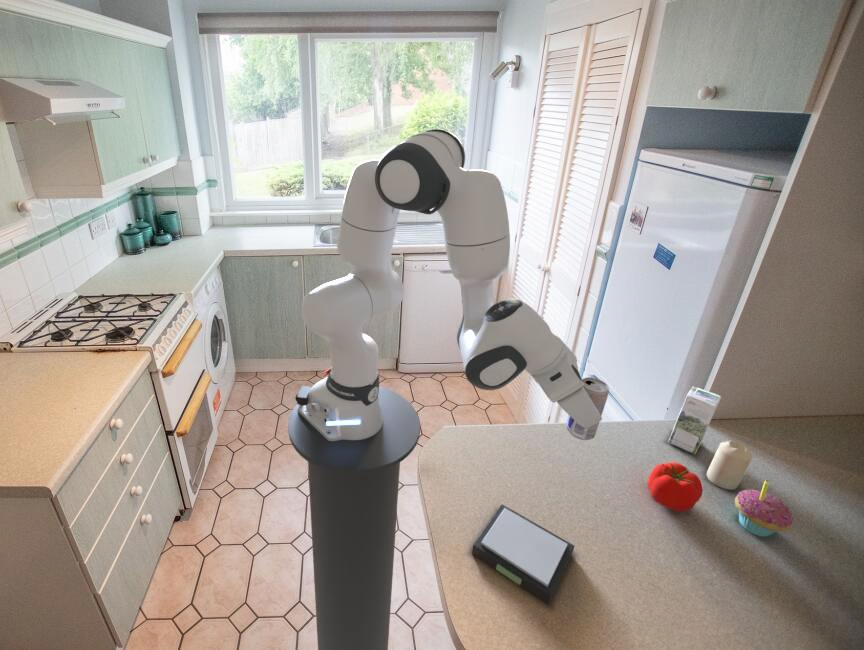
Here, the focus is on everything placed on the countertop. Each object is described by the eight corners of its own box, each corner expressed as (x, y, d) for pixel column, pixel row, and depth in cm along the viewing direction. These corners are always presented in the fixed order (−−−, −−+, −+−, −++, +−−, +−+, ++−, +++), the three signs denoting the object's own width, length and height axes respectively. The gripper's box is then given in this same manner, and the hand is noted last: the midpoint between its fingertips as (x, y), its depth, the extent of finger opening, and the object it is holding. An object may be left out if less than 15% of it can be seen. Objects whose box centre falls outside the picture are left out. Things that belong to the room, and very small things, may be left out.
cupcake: (742, 541, 86) (768, 495, 80) (718, 504, 93) (740, 460, 88) (793, 548, 84) (823, 503, 79) (765, 511, 92) (790, 467, 86)
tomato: (664, 478, 99) (675, 452, 96) (704, 510, 92) (717, 483, 88) (632, 489, 97) (642, 463, 93) (670, 523, 89) (682, 496, 86)
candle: (739, 493, 96) (757, 458, 91) (707, 483, 98) (724, 448, 94) (735, 476, 100) (752, 441, 95) (704, 467, 102) (720, 432, 98)
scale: (470, 555, 83) (472, 544, 82) (499, 512, 91) (502, 501, 90) (547, 606, 75) (551, 595, 73) (571, 554, 83) (575, 543, 82)
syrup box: (701, 443, 109) (722, 394, 103) (694, 456, 105) (716, 406, 99) (673, 432, 113) (693, 384, 106) (666, 443, 109) (686, 394, 103)
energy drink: (579, 420, 97) (593, 374, 92) (600, 436, 93) (616, 389, 88) (560, 427, 95) (573, 380, 90) (581, 444, 91) (596, 395, 86)
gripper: (525, 345, 98) (562, 385, 102) (550, 403, 80) (594, 450, 83) (550, 328, 96) (587, 370, 99) (582, 385, 78) (626, 434, 81)
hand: (591, 408), depth 91 cm, fingers closed on energy drink, 5 cm apart
